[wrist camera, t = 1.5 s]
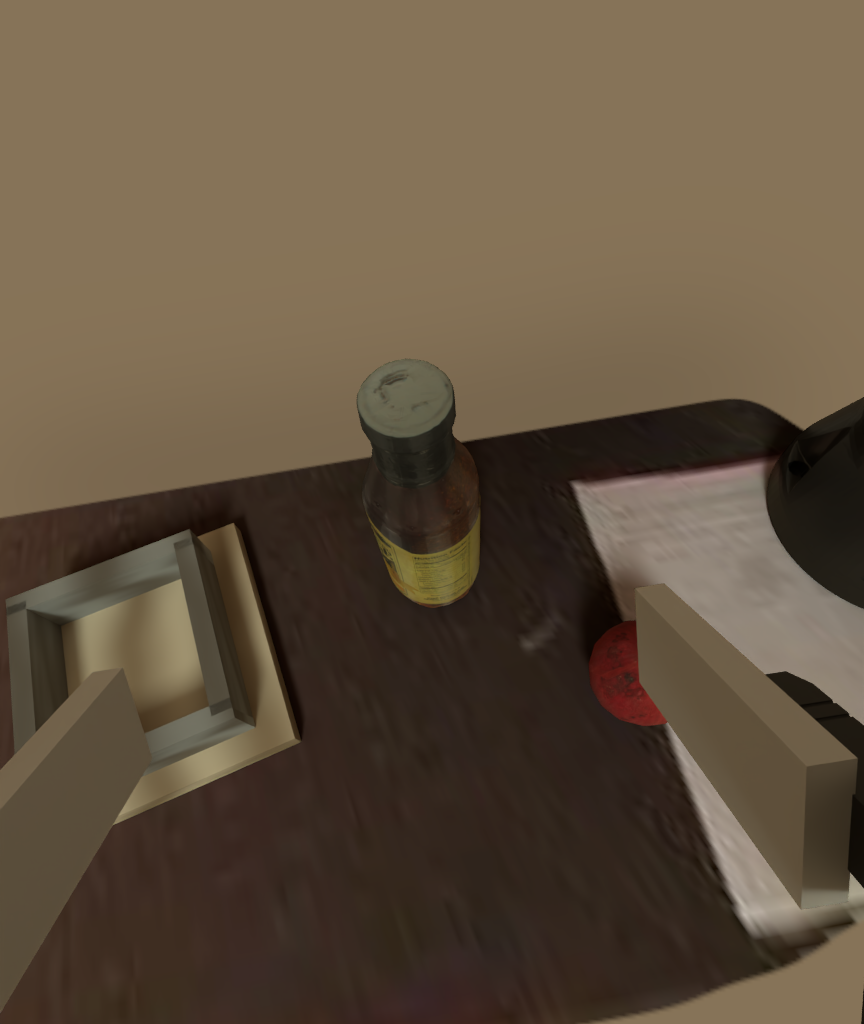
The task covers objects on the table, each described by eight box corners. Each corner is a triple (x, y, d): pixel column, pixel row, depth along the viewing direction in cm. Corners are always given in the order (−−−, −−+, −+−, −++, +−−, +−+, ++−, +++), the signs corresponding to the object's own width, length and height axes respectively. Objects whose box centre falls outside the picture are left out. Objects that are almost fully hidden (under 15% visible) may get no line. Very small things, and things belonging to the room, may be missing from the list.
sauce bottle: (396, 529, 43) (341, 325, 26) (481, 532, 43) (484, 326, 25) (386, 615, 40) (315, 449, 23) (478, 620, 40) (477, 453, 22)
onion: (613, 752, 35) (647, 732, 28) (562, 665, 38) (581, 627, 31) (695, 707, 36) (747, 677, 29) (639, 625, 39) (675, 580, 32)
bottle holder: (241, 532, 44) (214, 498, 40) (301, 741, 37) (277, 729, 32) (24, 616, 42) (-28, 590, 38) (42, 856, 35) (-21, 859, 30)
